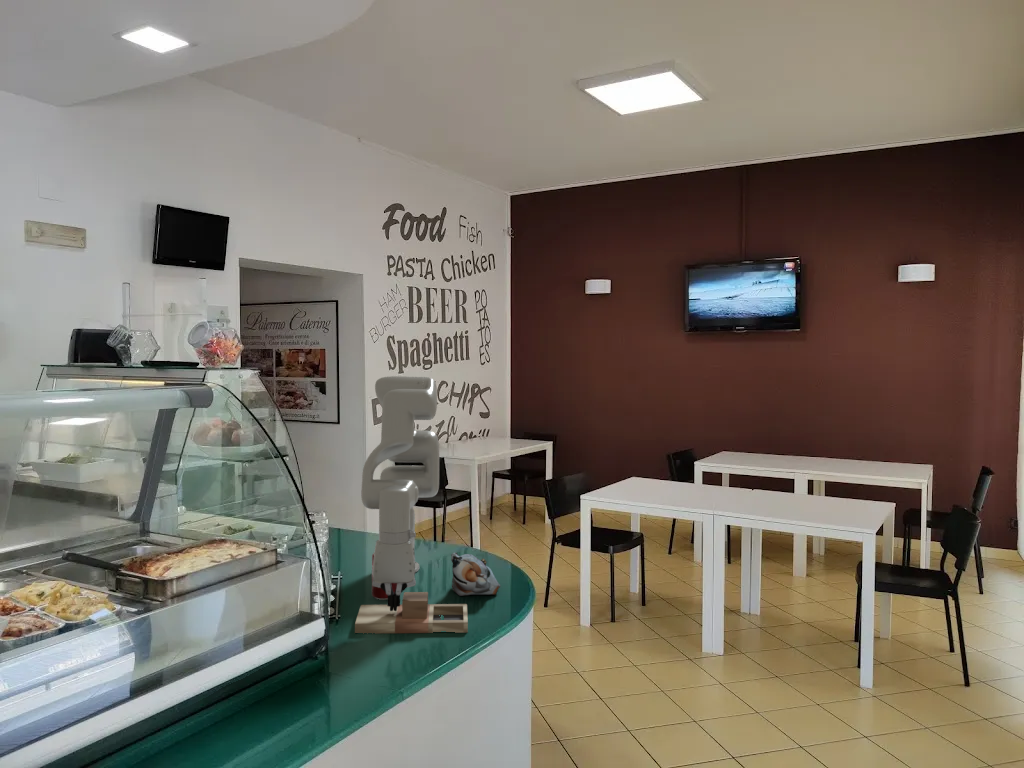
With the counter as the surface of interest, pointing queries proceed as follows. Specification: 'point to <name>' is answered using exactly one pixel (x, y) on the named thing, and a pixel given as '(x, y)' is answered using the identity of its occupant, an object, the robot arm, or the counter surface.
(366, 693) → the counter surface
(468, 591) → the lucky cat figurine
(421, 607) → the walnut block
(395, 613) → the trap deck
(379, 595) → the soda can
